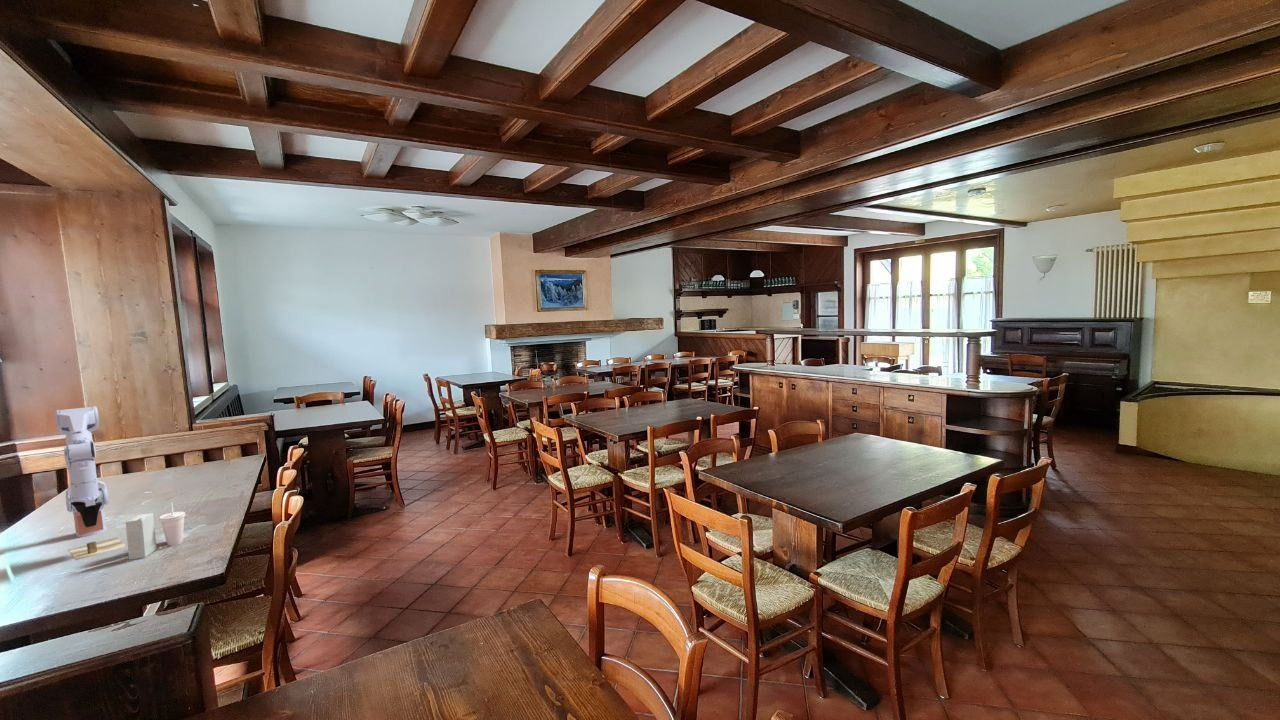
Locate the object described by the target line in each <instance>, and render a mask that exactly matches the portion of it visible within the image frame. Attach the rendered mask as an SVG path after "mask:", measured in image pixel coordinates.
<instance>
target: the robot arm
mask: <svg viewBox="0 0 1280 720" xmlns="http://www.w3.org/2000/svg"><path fill="white" fill-rule="evenodd" d="M54 418H55V425H56V428H57V431H58V432H59V435H64V436H65V446H64V448H63V454H64V455H63V456H64V461H65V462H66V463H65V465H66V466H67V467H66V468H67V470H68V477H69V484H70V486H69V487H67V489H66V490H65V505H66V506H65V507H66V510H67V512H69V513H72V514H73V513H76V512H79V513H80V514H81V516H82V519H83V522H84V524H85V526H86V527H91V526H95V525H96V523H97V516H98V512H99V510H101V515H102V522H103V530H99V531H95V532H91V533H87V534H83V535H78V533H77V532H76V528H75V527H74V529H75V532H73V533H72V534H71V535H72V536H74V535H75V537H77V538H84V537H90V536H95V535H98V534H102V533H103V532H106V531H107V521H106V513H105V506H107V505H108V504H110V503H109V493H108V487H107V484H106V483H105V482H104V481H102V480H99V479H98V475H97V467H96V458H97V451H96V450H97V449H96V444H95V442H94V440H93V434H92V432H94V431H96V430H98V429H99V427H100V424H99V423H100V420H99V411H98V407H97V406H95V405H93V406H88V407H79V408H76V407H75V408H69V409H57V410H56V411H54ZM74 523H75V521H74Z"/></svg>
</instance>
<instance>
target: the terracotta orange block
mask: <svg viewBox="0 0 1280 720" xmlns="http://www.w3.org/2000/svg"><path fill="white" fill-rule="evenodd" d="M72 514H73V519H74V521H75V522H74V529H75V528H76V530H75V533H76V532H77V533H78V535H83V534H87V533H91V532H95V531H99V530H103V522H102V515H101V510H99V512H98V516H97V523H96V525H95V526H91V527H86V526H85V524H84V522H83V519H82V516H81V514H80V513H79V512H76V513H73V512H72Z"/></svg>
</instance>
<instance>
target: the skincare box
mask: <svg viewBox="0 0 1280 720" xmlns="http://www.w3.org/2000/svg"><path fill="white" fill-rule="evenodd" d="M154 518H155V517H154V513H152V512H151V513H142V514H137V515H136V516H133V517H132V518H130V519H129V520H127V521H125V528H126V529H125V530H126V540H127V541H126V542H127V550H128V551H127V552H128V559H129V560H138V559H142V558H143V559H144V558H147V557H148V556H150V555H151V554H152V553H154V552H155V551H156V550H157V549H158V548H157V540H156V529H155V520H154Z"/></svg>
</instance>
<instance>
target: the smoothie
mask: <svg viewBox="0 0 1280 720" xmlns="http://www.w3.org/2000/svg"><path fill="white" fill-rule="evenodd" d="M169 506H170V512H169V513H165V514H162V515H160V516H159V517H158V520H159V522H160V524H161V527H162V531H163V534H164V538H165V542H166V544H167V547H175V546H178V545H181V544H182V543H183V542H184V525H185V517H186V512H185V511H174V507H173V502H172V501H170V502H169Z"/></svg>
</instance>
